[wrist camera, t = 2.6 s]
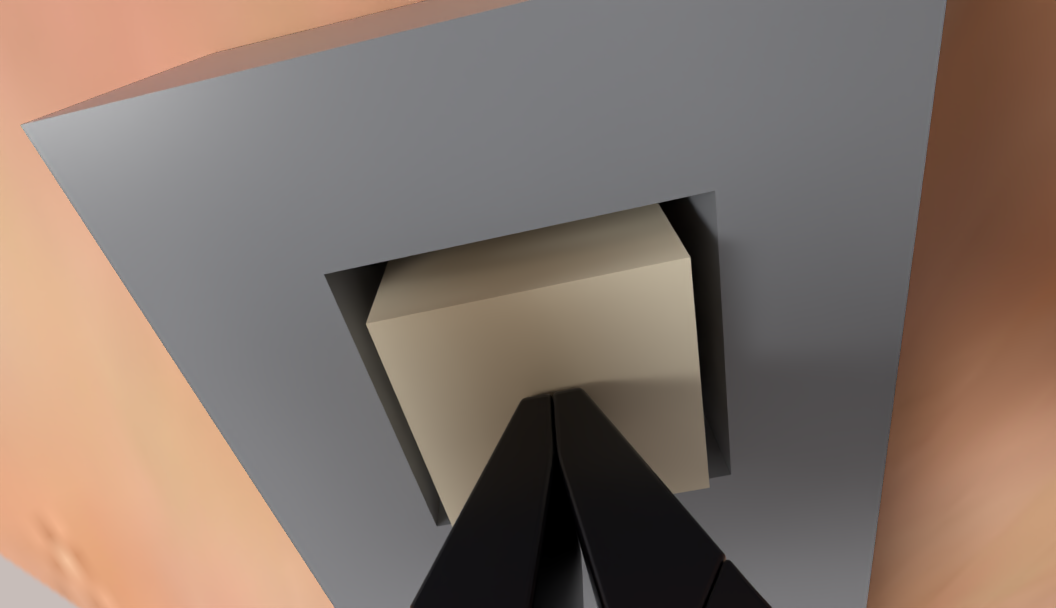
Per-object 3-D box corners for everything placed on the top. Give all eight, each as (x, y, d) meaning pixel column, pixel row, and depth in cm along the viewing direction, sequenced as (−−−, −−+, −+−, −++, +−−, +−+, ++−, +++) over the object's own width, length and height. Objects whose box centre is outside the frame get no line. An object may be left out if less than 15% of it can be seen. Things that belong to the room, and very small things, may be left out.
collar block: (766, -85, 10) (960, -105, 6) (771, 636, 21) (839, 811, 17) (210, 54, 11) (20, 124, 7) (497, 679, 22) (496, 856, 18)
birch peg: (621, 141, 11) (690, 257, 7) (645, 318, 13) (709, 487, 9) (414, 188, 11) (365, 324, 7) (469, 353, 14) (454, 532, 9)
